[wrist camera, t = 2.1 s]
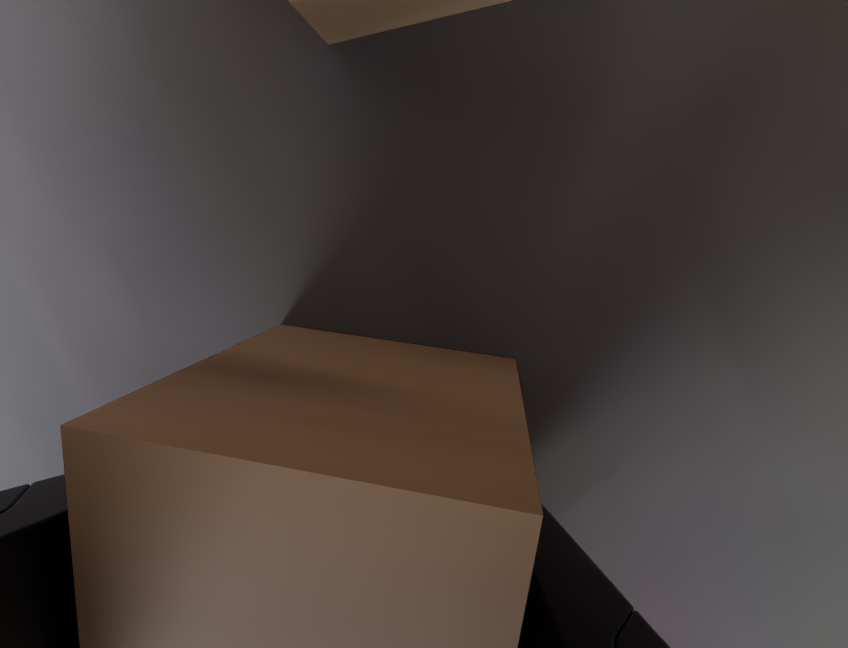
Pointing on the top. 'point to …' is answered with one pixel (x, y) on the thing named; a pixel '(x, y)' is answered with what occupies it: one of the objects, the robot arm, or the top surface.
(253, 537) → the walnut block
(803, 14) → the top surface
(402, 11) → the maple block
